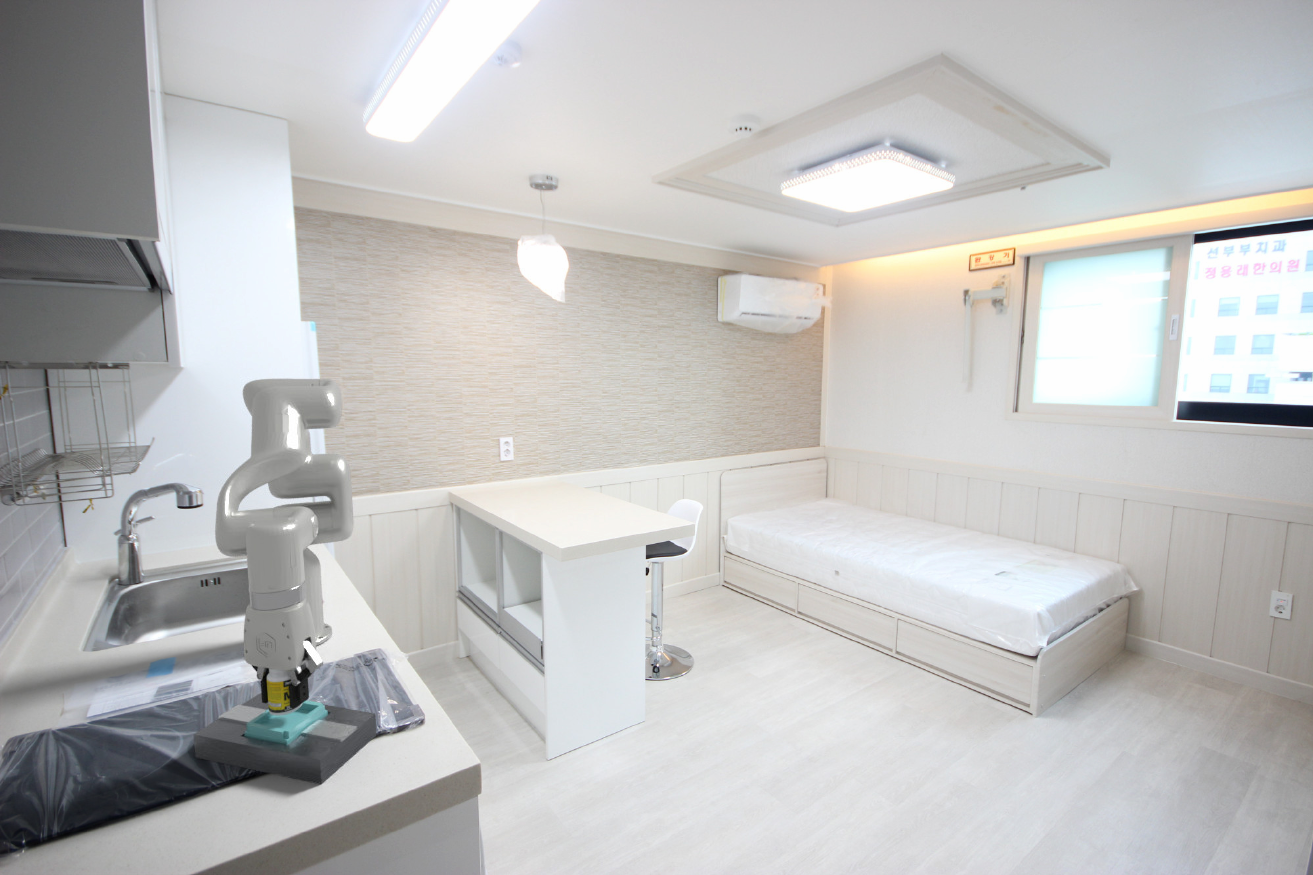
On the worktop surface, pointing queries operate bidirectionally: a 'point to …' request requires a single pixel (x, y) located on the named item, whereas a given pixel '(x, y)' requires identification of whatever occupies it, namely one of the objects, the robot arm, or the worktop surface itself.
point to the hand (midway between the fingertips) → (285, 699)
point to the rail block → (300, 759)
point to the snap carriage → (285, 723)
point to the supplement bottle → (279, 692)
